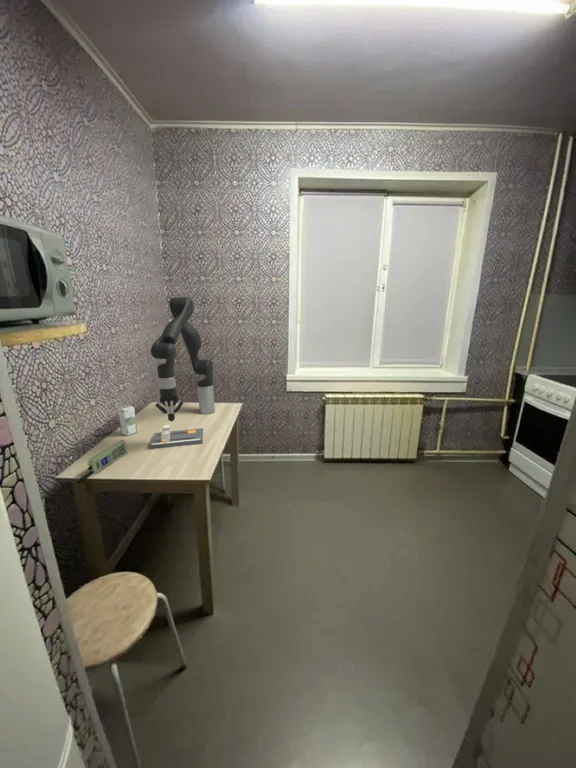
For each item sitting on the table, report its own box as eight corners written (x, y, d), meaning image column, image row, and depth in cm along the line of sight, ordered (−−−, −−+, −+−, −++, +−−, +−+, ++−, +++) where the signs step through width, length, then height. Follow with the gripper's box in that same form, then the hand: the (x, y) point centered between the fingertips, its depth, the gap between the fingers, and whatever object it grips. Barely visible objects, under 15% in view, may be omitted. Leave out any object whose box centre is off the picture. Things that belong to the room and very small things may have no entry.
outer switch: (163, 438, 154) (162, 431, 153) (169, 438, 155) (169, 430, 154) (162, 441, 151) (161, 434, 150) (169, 441, 152) (168, 433, 151)
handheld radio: (128, 453, 145) (85, 483, 122) (122, 453, 146) (78, 482, 122) (126, 440, 144) (81, 467, 120) (120, 439, 144) (74, 466, 121)
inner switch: (164, 432, 162) (163, 425, 161) (170, 432, 163) (170, 424, 162) (163, 435, 158) (162, 428, 157) (170, 434, 159) (169, 427, 158)
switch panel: (155, 436, 163) (154, 432, 162) (203, 431, 168) (202, 428, 168) (150, 449, 149) (149, 445, 148) (202, 443, 154) (202, 439, 154)
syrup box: (130, 430, 171) (127, 404, 167) (137, 432, 168) (134, 406, 165) (120, 434, 166) (116, 408, 163) (127, 436, 163) (123, 409, 160)
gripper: (183, 383, 152) (186, 416, 157) (153, 385, 149) (158, 419, 154) (181, 387, 145) (185, 422, 150) (151, 389, 142) (155, 425, 147)
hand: (171, 420), depth 152 cm, fingers closed
